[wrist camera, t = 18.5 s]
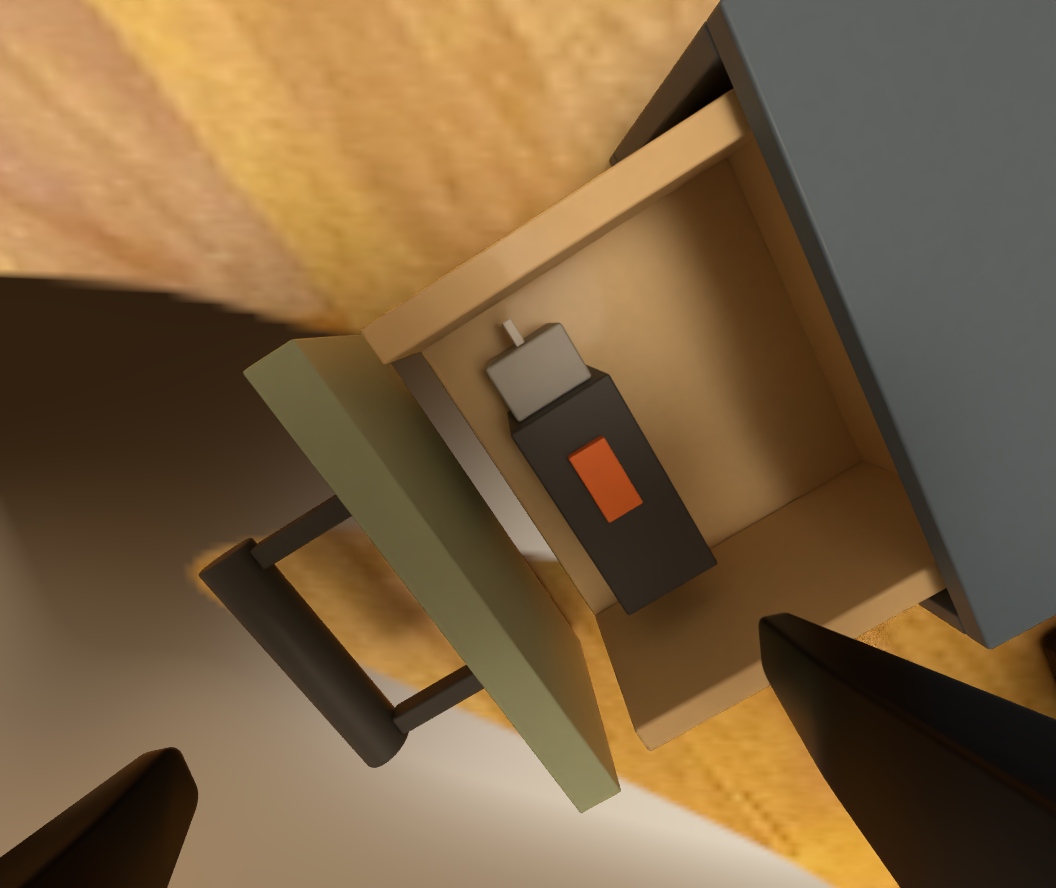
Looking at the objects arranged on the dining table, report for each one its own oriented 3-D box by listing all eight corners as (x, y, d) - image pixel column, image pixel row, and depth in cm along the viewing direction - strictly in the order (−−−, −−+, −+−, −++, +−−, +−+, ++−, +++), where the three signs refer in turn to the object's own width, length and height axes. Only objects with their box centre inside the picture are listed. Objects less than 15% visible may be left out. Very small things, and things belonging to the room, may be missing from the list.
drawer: (441, 720, 19) (417, 904, 13) (210, 436, 16) (37, 504, 10) (873, 471, 17) (1069, 546, 12) (715, 111, 14) (871, -40, 8)
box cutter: (675, 518, 16) (724, 569, 13) (603, 562, 16) (631, 624, 13) (545, 295, 14) (561, 285, 11) (464, 347, 14) (455, 354, 11)
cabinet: (790, 520, 19) (990, 652, 11) (608, 159, 15) (719, -1, 8) (1142, 317, 18) (1620, 311, 10) (1030, -115, 14) (1620, -598, 7)
